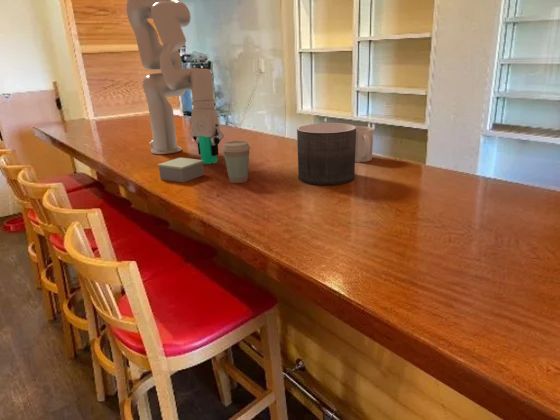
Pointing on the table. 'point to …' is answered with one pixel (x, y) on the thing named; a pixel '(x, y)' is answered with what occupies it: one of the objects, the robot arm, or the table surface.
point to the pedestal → (181, 169)
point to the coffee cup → (237, 160)
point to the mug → (363, 144)
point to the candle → (206, 150)
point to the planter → (326, 153)
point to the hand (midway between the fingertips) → (208, 154)
